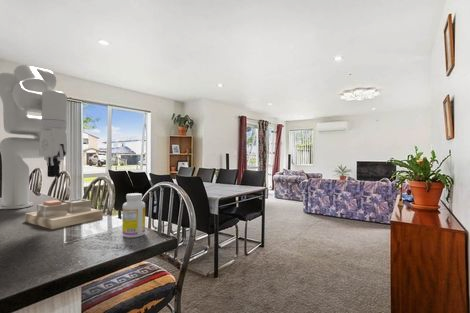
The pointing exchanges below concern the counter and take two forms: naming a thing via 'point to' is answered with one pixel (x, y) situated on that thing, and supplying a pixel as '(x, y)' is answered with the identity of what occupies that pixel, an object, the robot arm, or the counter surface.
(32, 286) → the counter surface
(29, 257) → the counter surface
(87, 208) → the key panel
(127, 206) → the supplement bottle
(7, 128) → the robot arm
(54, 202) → the terracotta key
